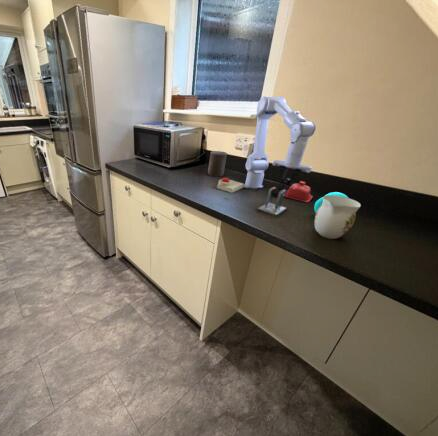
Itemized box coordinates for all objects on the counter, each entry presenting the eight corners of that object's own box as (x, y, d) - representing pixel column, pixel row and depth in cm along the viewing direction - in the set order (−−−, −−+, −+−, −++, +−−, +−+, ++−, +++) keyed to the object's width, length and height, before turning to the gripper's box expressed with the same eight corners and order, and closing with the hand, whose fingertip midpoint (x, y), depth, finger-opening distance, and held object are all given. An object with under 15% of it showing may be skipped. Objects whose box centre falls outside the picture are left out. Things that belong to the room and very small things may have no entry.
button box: (227, 182, 133) (229, 176, 131) (243, 187, 127) (245, 180, 125) (215, 187, 126) (216, 180, 124) (231, 193, 120) (232, 185, 118)
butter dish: (312, 197, 115) (319, 181, 111) (307, 204, 108) (313, 187, 104) (287, 191, 122) (292, 176, 118) (280, 198, 115) (285, 181, 111)
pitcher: (353, 231, 87) (371, 197, 80) (336, 248, 77) (354, 211, 71) (320, 220, 95) (334, 188, 88) (301, 234, 85) (314, 199, 78)
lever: (284, 182, 104) (285, 176, 102) (291, 183, 102) (292, 177, 100) (270, 197, 100) (271, 191, 98) (278, 199, 98) (279, 193, 96)
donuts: (309, 215, 98) (317, 193, 93) (318, 209, 104) (327, 188, 99) (337, 225, 91) (347, 202, 86) (345, 218, 97) (356, 195, 92)
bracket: (267, 204, 108) (273, 184, 103) (285, 210, 102) (292, 189, 98) (257, 210, 102) (262, 189, 97) (275, 217, 97) (282, 195, 92)
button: (224, 180, 126) (224, 177, 126) (229, 181, 124) (230, 178, 123) (220, 181, 124) (220, 178, 124) (226, 183, 122) (226, 180, 121)
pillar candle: (217, 178, 141) (221, 153, 134) (204, 174, 148) (207, 150, 141) (226, 175, 146) (230, 150, 139) (213, 171, 153) (217, 148, 146)
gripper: (273, 151, 98) (265, 182, 105) (311, 158, 89) (300, 191, 95) (280, 149, 102) (272, 178, 109) (317, 155, 93) (306, 187, 99)
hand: (285, 184), depth 102 cm, fingers closed on lever, 3 cm apart
